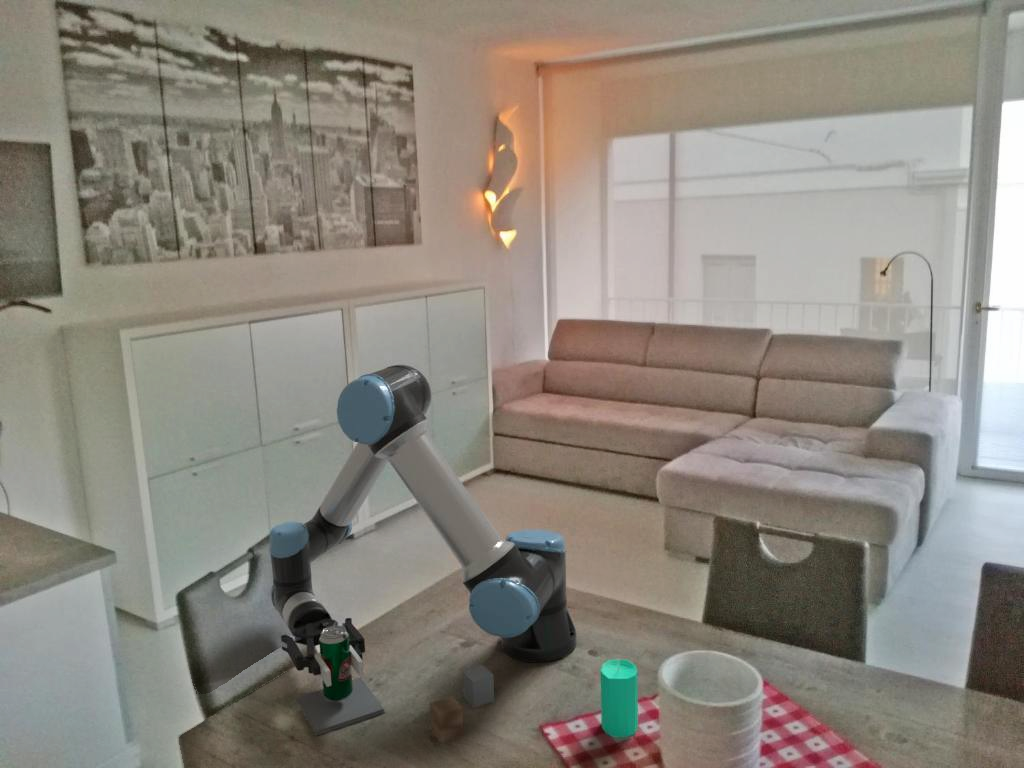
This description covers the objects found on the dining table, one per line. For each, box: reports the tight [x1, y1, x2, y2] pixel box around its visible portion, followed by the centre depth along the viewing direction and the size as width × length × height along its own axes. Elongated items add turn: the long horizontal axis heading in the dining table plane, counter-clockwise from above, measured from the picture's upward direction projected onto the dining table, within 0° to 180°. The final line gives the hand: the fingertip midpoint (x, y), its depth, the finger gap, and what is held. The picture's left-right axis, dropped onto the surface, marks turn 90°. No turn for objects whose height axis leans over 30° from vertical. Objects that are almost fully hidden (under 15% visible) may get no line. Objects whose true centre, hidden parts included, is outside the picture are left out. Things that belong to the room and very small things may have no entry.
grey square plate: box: [296, 676, 385, 736], centre depth 145 cm, size 12×12×1 cm
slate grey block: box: [462, 664, 495, 709], centre depth 146 cm, size 4×4×5 cm
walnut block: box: [429, 695, 464, 744], centre depth 136 cm, size 4×4×5 cm
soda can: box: [318, 626, 353, 701], centre depth 144 cm, size 5×5×12 cm
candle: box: [600, 659, 639, 738], centre depth 135 cm, size 6×6×12 cm
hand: (345, 673), depth 139 cm, fingers closed on soda can, 5 cm apart
